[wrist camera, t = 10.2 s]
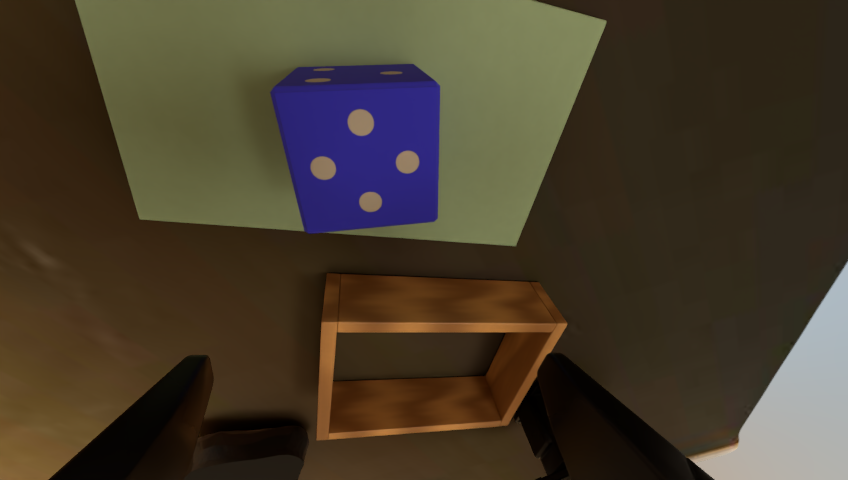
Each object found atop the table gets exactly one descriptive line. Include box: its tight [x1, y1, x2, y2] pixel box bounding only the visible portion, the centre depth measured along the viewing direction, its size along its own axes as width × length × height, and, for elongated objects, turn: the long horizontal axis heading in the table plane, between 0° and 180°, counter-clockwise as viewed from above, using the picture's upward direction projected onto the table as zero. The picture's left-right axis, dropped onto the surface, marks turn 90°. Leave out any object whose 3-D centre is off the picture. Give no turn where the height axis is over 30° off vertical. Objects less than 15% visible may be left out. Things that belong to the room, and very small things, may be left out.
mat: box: [75, 0, 607, 246], centre depth 15 cm, size 20×12×1 cm, turn 78°
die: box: [270, 64, 440, 234], centre depth 13 cm, size 5×5×5 cm
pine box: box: [316, 273, 567, 440], centre depth 23 cm, size 15×12×4 cm
